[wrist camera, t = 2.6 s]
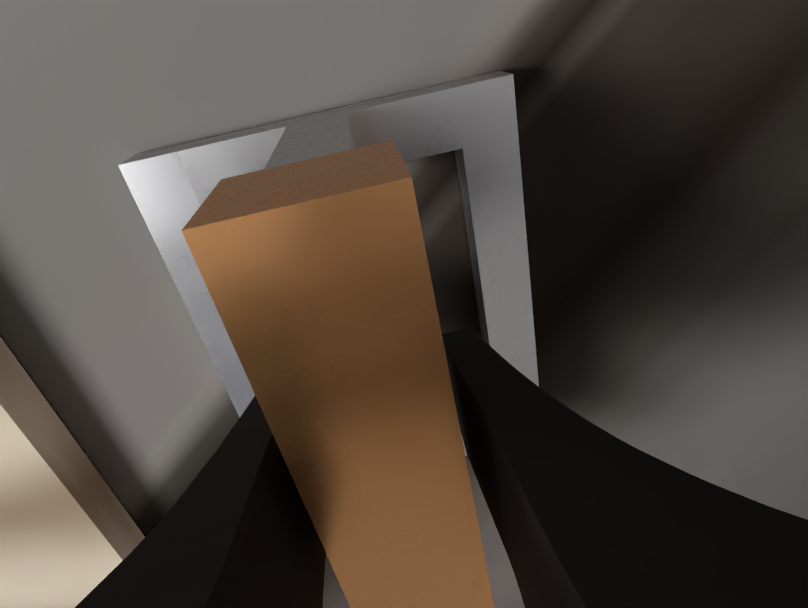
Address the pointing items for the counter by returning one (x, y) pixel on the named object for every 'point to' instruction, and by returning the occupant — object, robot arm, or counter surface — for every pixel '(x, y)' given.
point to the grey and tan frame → (354, 314)
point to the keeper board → (51, 504)
